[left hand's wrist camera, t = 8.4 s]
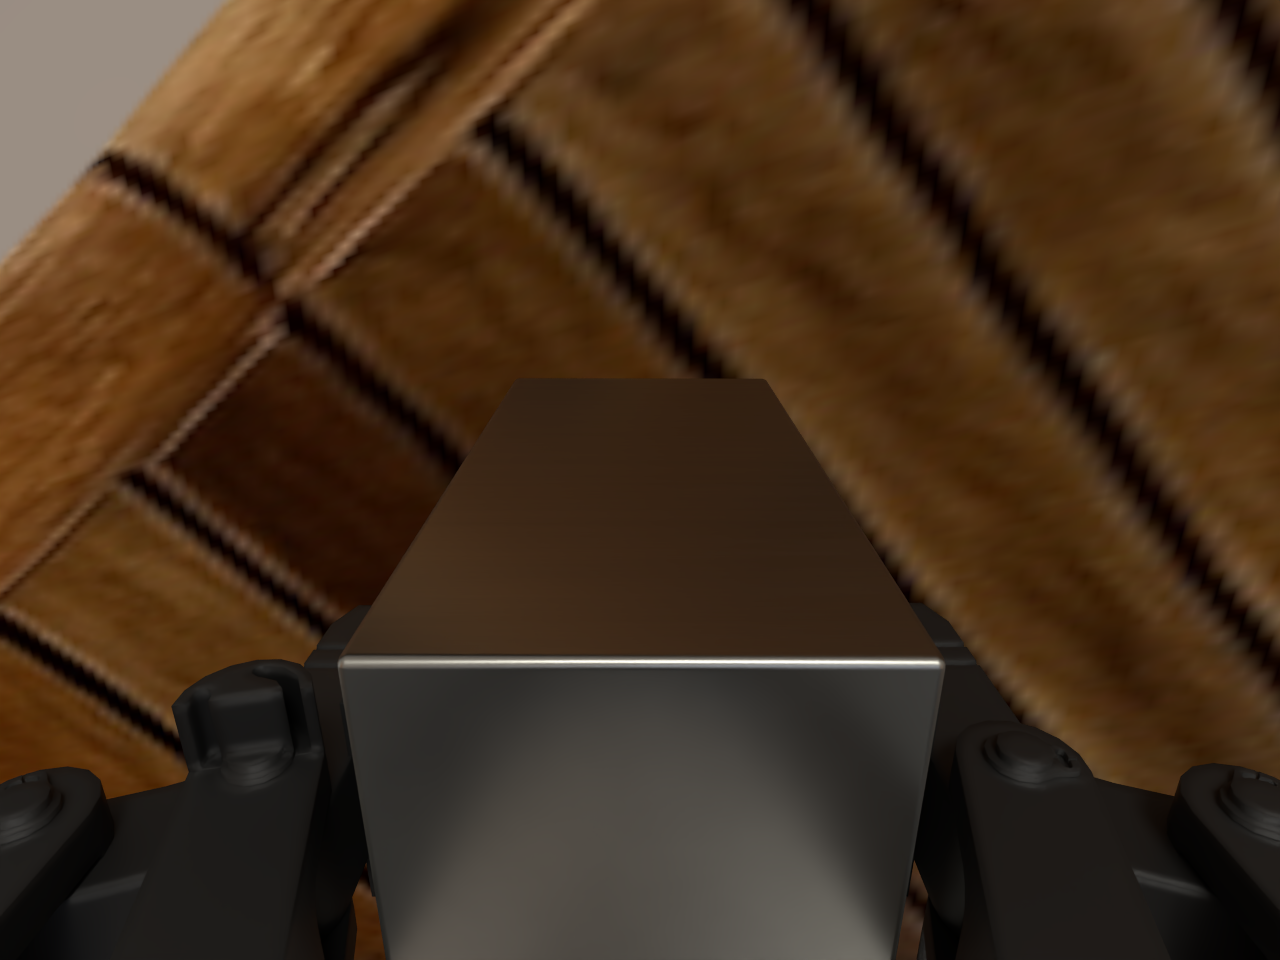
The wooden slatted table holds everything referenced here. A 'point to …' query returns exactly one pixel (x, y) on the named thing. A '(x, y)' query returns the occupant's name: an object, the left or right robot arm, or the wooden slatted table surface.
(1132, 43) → the wooden slatted table surface
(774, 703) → the bar
